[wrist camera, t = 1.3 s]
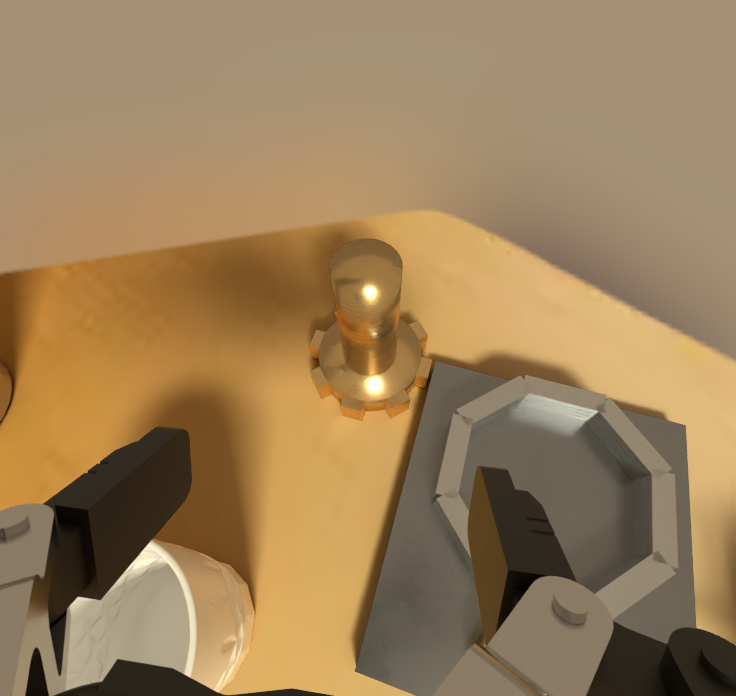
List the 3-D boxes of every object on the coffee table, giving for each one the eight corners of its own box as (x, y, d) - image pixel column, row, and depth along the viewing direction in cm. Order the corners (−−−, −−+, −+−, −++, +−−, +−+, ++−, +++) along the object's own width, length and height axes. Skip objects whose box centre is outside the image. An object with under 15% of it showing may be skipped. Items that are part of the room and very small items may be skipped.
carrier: (356, 666, 22) (351, 684, 18) (433, 368, 30) (441, 339, 26) (687, 797, 19) (761, 849, 15) (673, 431, 27) (719, 408, 24)
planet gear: (295, 401, 29) (252, 314, 19) (335, 305, 33) (316, 192, 23) (412, 435, 28) (429, 360, 18) (440, 331, 31) (466, 222, 22)
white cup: (286, 568, 24) (232, 563, 15) (231, 744, 20) (119, 870, 12) (163, 531, 25) (48, 506, 16) (90, 691, 22) (-107, 769, 13)
